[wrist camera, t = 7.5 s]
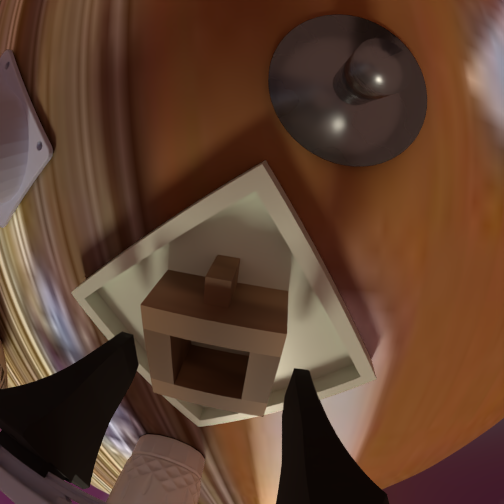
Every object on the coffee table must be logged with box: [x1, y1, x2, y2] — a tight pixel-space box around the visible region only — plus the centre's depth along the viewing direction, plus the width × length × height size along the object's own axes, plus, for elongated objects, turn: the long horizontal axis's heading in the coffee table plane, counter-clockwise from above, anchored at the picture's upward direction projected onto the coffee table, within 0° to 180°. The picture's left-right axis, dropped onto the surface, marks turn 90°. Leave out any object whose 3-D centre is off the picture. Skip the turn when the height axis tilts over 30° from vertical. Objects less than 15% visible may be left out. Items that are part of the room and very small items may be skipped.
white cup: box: [106, 434, 205, 504], centre depth 18 cm, size 8×8×10 cm
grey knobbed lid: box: [269, 15, 427, 166], centre depth 7 cm, size 6×6×4 cm
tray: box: [71, 160, 376, 427], centre depth 14 cm, size 12×12×2 cm
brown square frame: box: [140, 255, 288, 417], centre depth 12 cm, size 6×7×3 cm
